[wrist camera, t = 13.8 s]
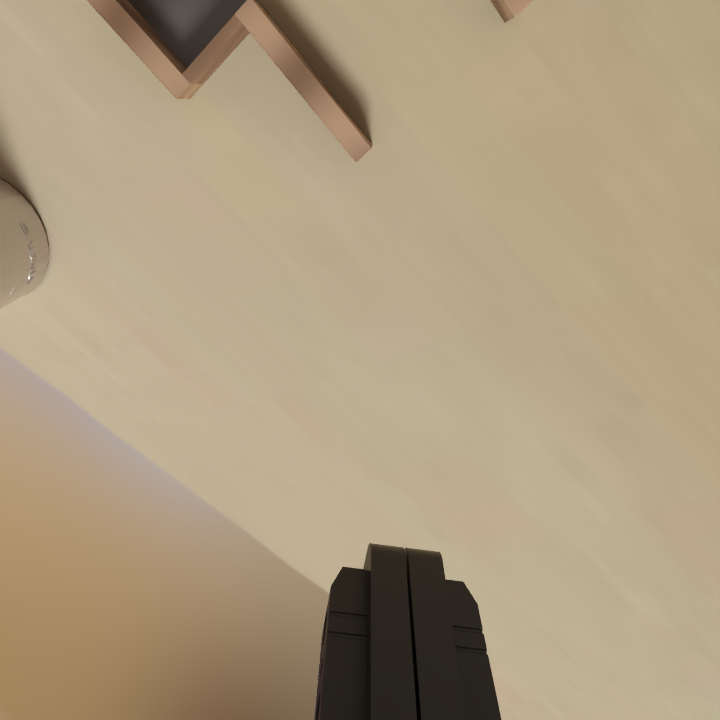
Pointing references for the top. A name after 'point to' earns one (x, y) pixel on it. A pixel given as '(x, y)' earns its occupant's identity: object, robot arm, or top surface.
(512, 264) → the top surface
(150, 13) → the trap channel
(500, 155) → the top surface
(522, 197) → the top surface
